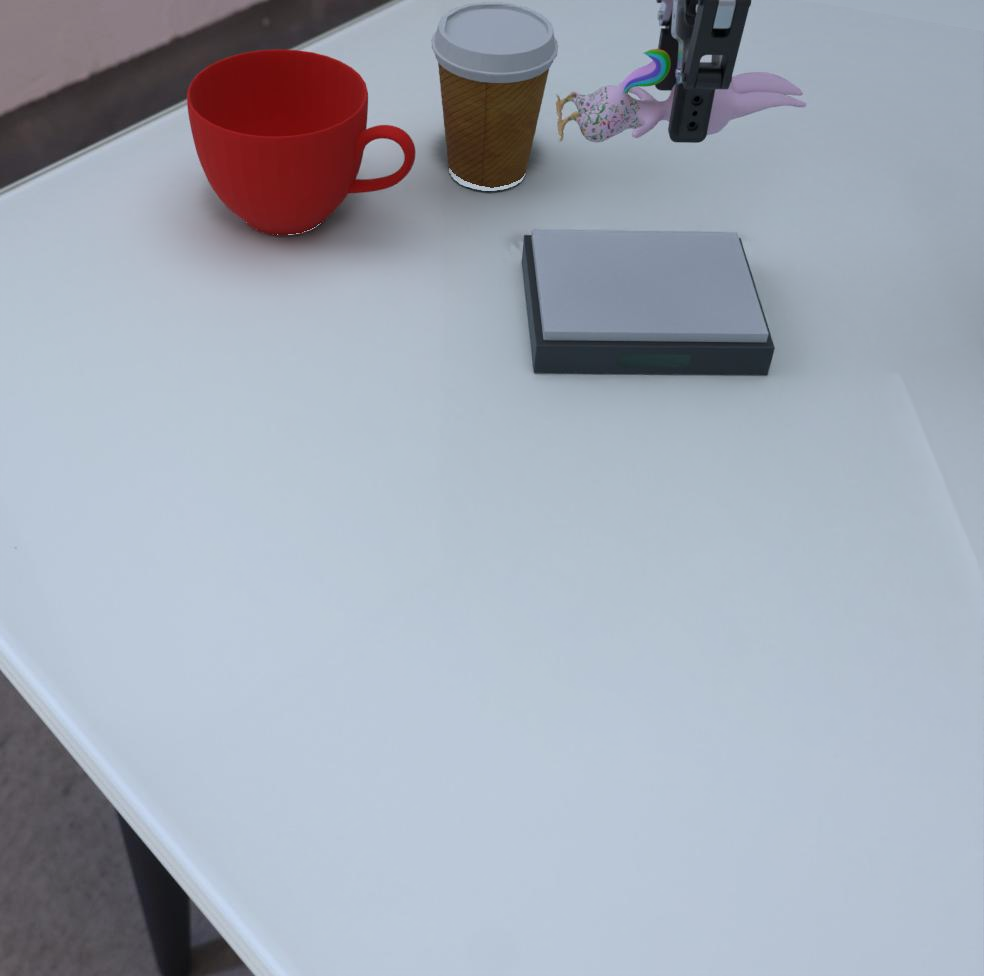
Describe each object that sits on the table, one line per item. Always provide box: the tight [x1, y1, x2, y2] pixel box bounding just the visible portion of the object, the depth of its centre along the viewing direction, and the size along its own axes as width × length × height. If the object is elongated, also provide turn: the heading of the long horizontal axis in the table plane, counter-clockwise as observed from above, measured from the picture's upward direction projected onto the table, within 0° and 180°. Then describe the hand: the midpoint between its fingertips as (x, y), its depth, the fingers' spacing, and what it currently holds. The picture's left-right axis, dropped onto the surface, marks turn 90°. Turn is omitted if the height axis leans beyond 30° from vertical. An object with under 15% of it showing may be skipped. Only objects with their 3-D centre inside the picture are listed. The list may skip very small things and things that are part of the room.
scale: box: [521, 228, 776, 376], centre depth 92 cm, size 16×13×3 cm
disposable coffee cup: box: [431, 1, 559, 188], centre depth 102 cm, size 10×10×12 cm
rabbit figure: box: [554, 48, 807, 143], centre depth 79 cm, size 6×6×15 cm
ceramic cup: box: [186, 48, 416, 236], centre depth 97 cm, size 13×17×10 cm
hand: (678, 111), depth 80 cm, fingers closed on rabbit figure, 5 cm apart
